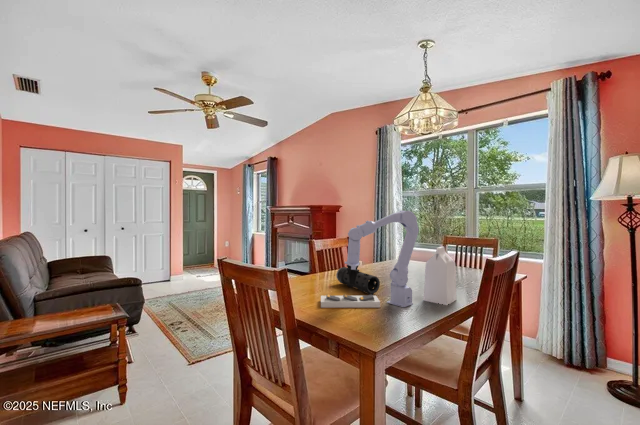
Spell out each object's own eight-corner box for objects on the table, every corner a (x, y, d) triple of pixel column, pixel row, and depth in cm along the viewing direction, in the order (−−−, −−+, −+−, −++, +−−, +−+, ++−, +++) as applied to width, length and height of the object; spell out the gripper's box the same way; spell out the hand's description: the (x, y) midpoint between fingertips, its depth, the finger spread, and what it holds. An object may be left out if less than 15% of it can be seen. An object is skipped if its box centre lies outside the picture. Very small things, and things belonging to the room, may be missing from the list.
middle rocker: (355, 299, 146) (356, 297, 146) (356, 302, 142) (357, 299, 142) (343, 296, 146) (343, 293, 146) (343, 298, 142) (344, 296, 142)
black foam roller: (366, 297, 157) (366, 276, 156) (335, 284, 180) (335, 267, 180) (380, 294, 162) (380, 274, 161) (348, 282, 185) (348, 265, 185)
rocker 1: (338, 299, 146) (339, 297, 146) (339, 302, 142) (339, 299, 142) (326, 296, 146) (326, 293, 146) (326, 298, 142) (327, 296, 142)
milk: (433, 295, 160) (434, 245, 159) (456, 299, 152) (457, 247, 151) (423, 300, 151) (423, 247, 150) (446, 305, 143) (447, 249, 142)
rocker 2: (372, 296, 146) (371, 293, 146) (374, 298, 142) (373, 296, 142) (360, 299, 146) (359, 297, 146) (361, 302, 142) (360, 299, 142)
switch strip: (376, 300, 150) (376, 295, 150) (380, 307, 140) (380, 301, 140) (320, 300, 150) (320, 295, 150) (320, 307, 140) (320, 301, 140)
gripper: (345, 250, 153) (343, 277, 153) (345, 255, 138) (343, 285, 139) (359, 251, 152) (357, 278, 153) (361, 256, 138) (359, 286, 138)
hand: (351, 281), depth 146 cm, fingers open, 7 cm apart
